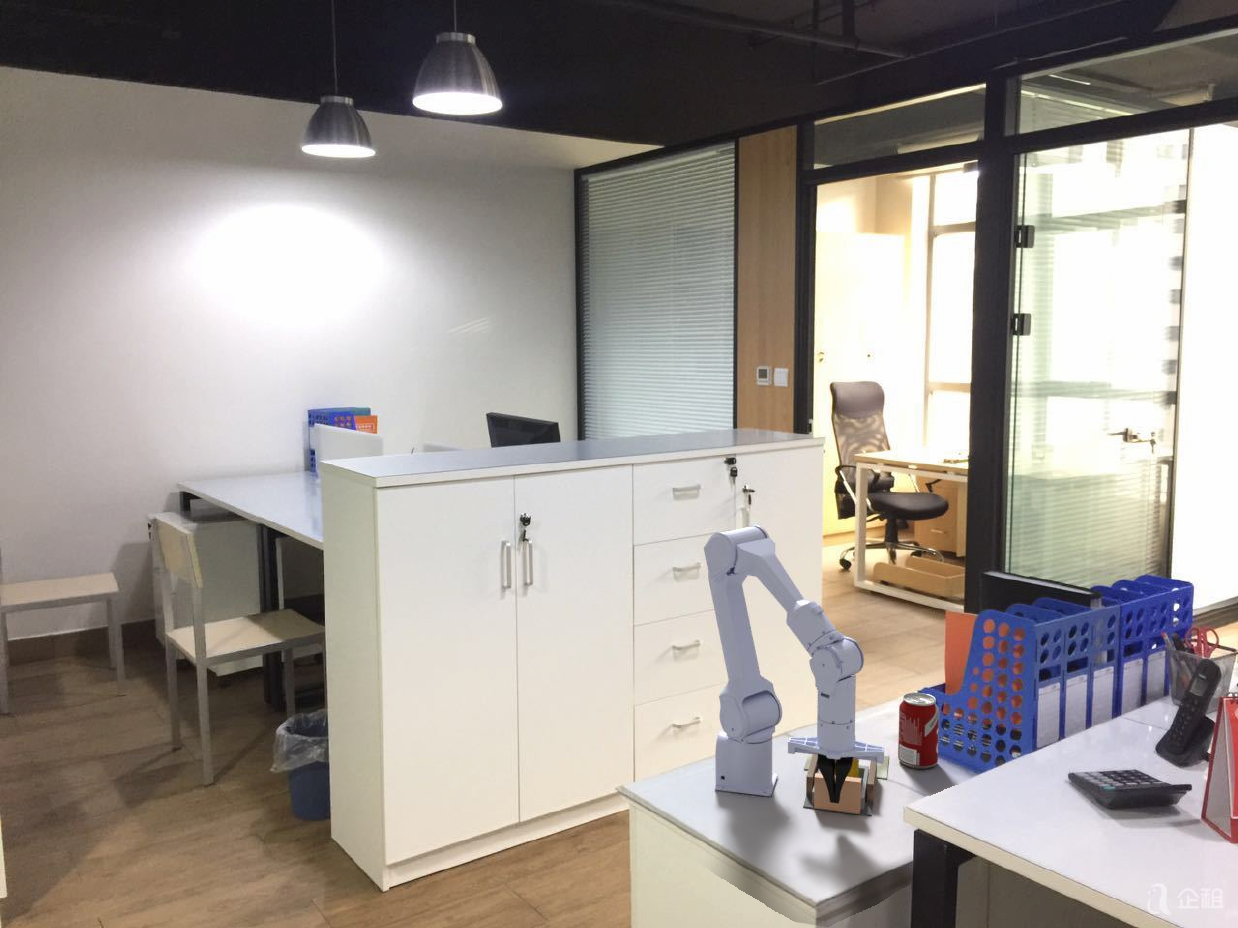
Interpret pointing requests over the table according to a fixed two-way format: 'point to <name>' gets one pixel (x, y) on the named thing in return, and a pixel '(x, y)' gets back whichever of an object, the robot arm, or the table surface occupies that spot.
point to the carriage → (842, 793)
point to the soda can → (918, 731)
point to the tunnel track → (874, 773)
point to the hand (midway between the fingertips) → (834, 800)
